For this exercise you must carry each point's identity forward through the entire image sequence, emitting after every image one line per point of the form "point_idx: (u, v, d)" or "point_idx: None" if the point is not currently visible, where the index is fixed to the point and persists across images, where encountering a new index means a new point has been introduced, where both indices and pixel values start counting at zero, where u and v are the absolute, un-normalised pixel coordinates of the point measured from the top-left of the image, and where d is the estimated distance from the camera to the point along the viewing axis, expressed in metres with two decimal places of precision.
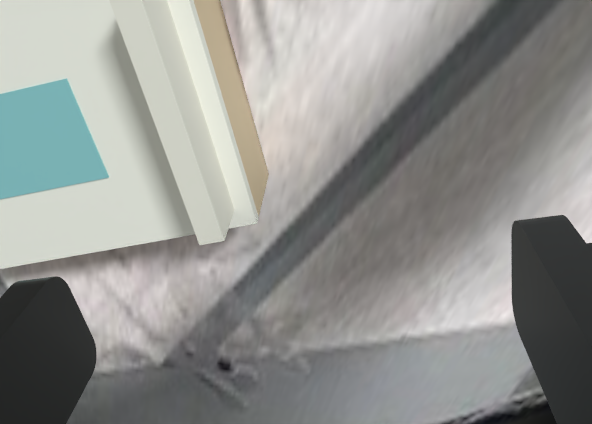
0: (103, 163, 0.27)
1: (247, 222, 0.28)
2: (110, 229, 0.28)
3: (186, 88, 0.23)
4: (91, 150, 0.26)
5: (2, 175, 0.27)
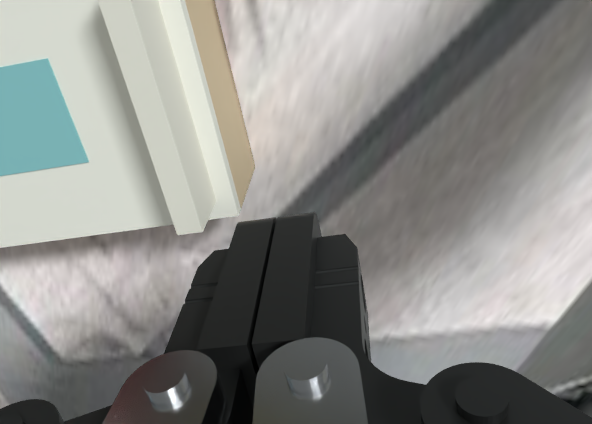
0: (83, 147, 0.26)
1: (228, 214, 0.27)
2: (89, 215, 0.28)
3: (169, 73, 0.23)
4: (71, 133, 0.26)
5: None
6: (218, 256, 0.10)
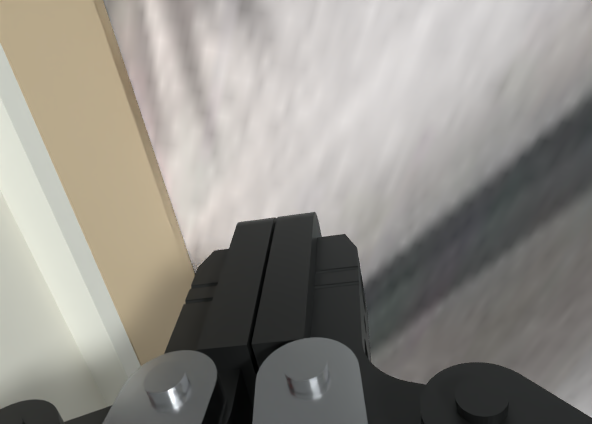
0: None
1: None
2: None
3: None
4: None
5: None
6: (218, 256, 0.10)
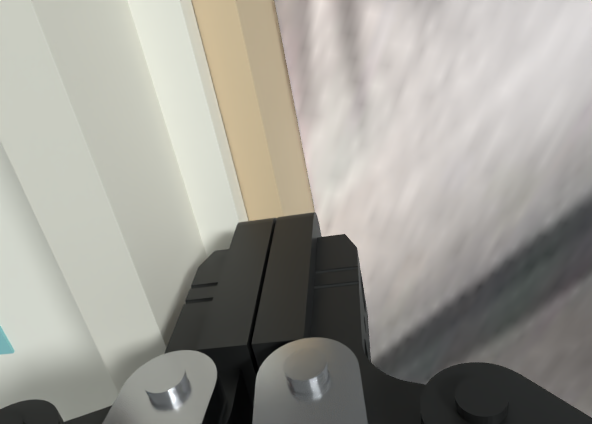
0: (0, 329, 0.13)
1: None
2: None
3: (169, 223, 0.10)
4: None
5: None
6: (218, 256, 0.10)
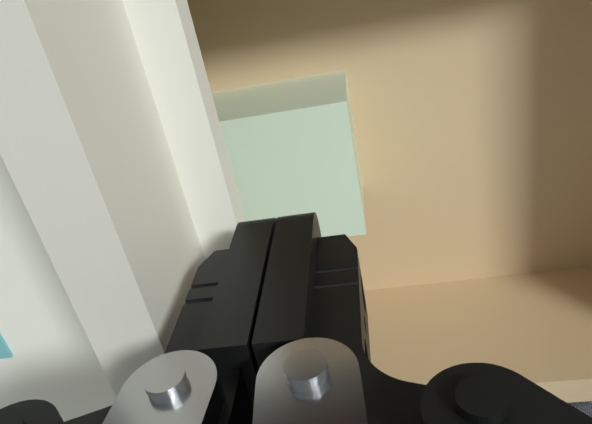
0: None
1: None
2: None
3: (167, 227, 0.10)
4: None
5: None
6: (218, 256, 0.10)
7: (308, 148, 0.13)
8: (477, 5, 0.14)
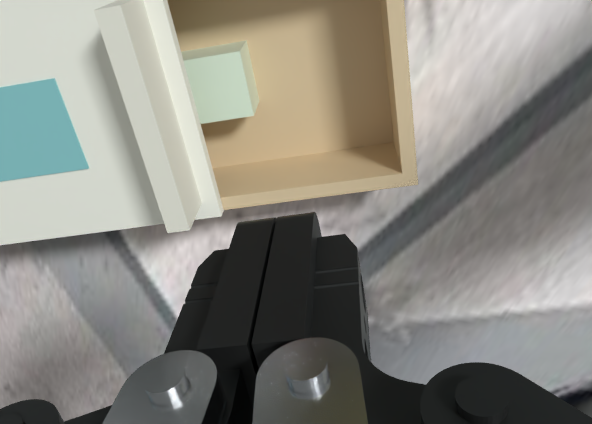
0: (84, 155, 0.29)
1: (212, 215, 0.31)
2: (88, 215, 0.31)
3: (161, 93, 0.26)
4: (74, 143, 0.29)
5: None
6: (218, 256, 0.10)
7: (224, 72, 0.30)
8: (304, 10, 0.30)
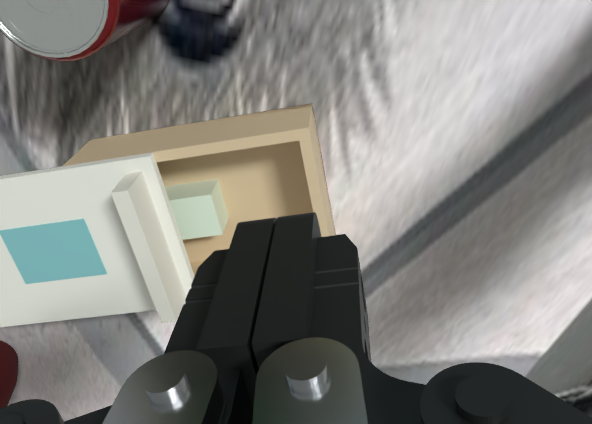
0: (104, 265, 0.42)
1: None
2: (106, 303, 0.44)
3: (155, 232, 0.39)
4: (97, 258, 0.42)
5: (39, 269, 0.43)
6: (218, 256, 0.10)
7: (200, 207, 0.42)
8: (257, 160, 0.43)
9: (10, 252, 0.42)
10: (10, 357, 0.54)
